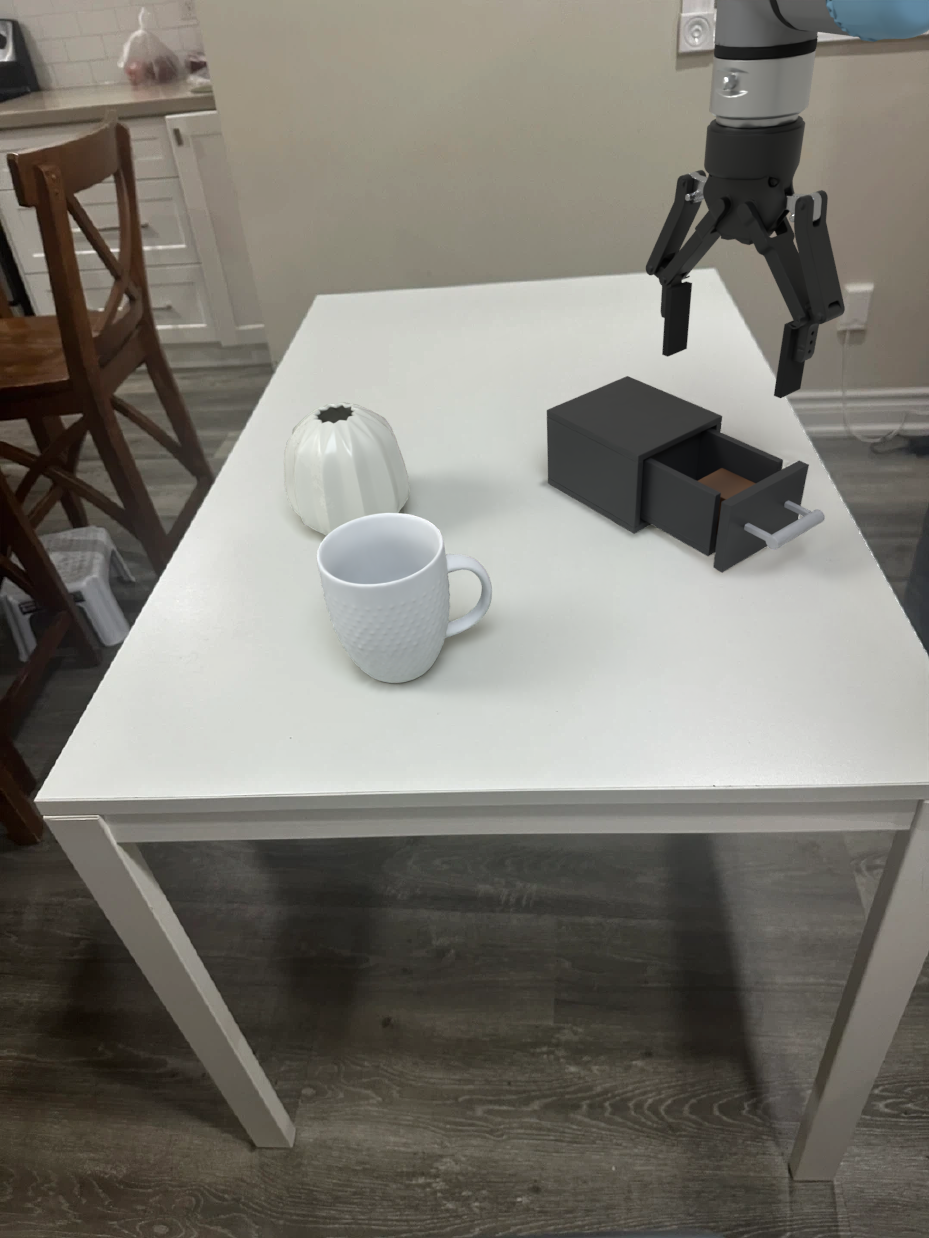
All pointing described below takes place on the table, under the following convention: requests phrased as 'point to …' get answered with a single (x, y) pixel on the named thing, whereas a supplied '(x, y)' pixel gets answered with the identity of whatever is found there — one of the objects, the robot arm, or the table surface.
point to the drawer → (744, 517)
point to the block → (725, 485)
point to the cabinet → (617, 443)
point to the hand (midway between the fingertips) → (727, 371)
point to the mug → (393, 593)
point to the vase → (343, 467)
